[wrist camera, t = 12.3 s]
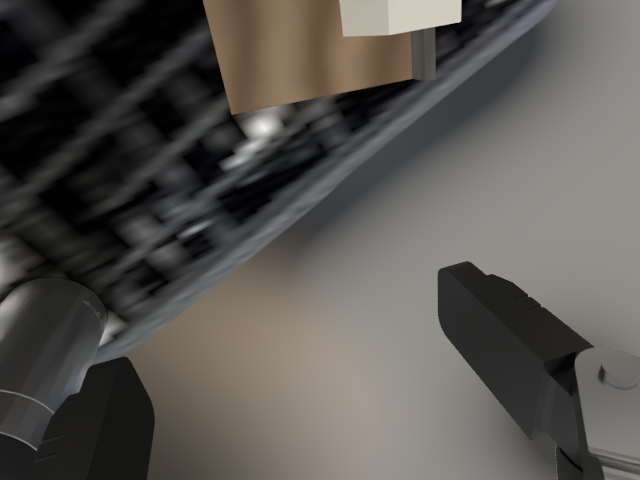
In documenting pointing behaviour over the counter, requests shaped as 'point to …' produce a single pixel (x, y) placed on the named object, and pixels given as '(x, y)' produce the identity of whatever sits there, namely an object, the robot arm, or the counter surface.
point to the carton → (396, 15)
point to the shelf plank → (306, 52)
